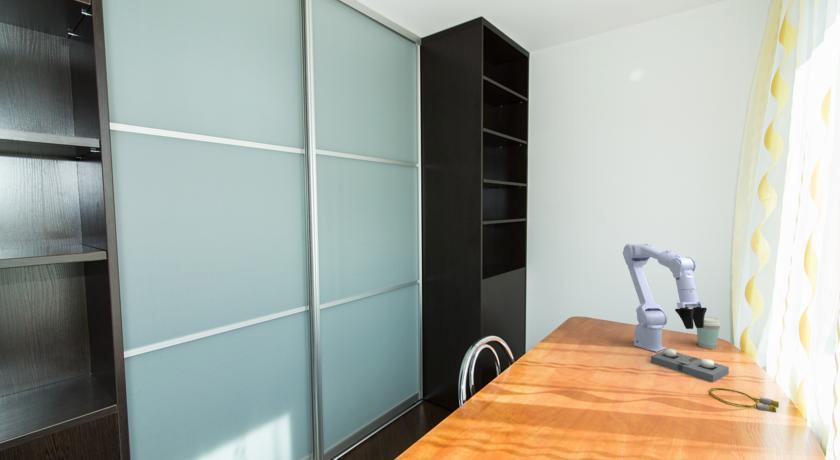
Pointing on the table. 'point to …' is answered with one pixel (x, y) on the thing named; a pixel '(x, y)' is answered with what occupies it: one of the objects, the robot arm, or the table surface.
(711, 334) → the coffee cup
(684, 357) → the slider tab
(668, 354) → the button
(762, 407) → the extension cord
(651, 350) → the robot arm
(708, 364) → the button
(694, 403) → the table surface
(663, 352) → the switch panel
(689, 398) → the table surface
